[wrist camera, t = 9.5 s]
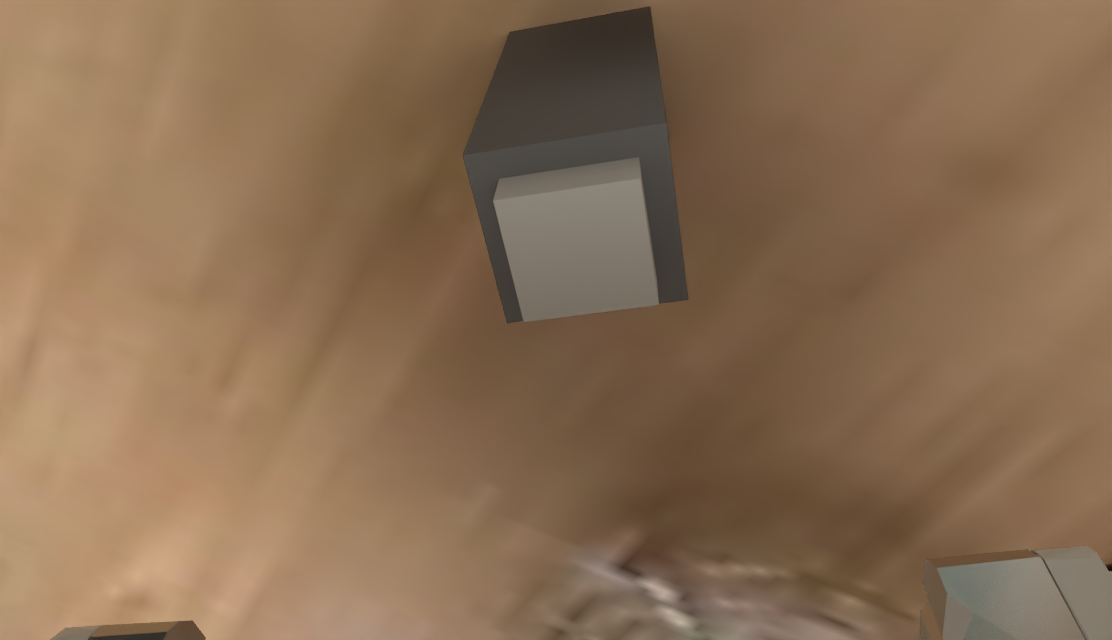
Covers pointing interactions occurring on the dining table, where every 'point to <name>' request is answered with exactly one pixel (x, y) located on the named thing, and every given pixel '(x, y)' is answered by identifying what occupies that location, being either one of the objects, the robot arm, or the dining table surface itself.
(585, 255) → the plug
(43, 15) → the dining table surface
